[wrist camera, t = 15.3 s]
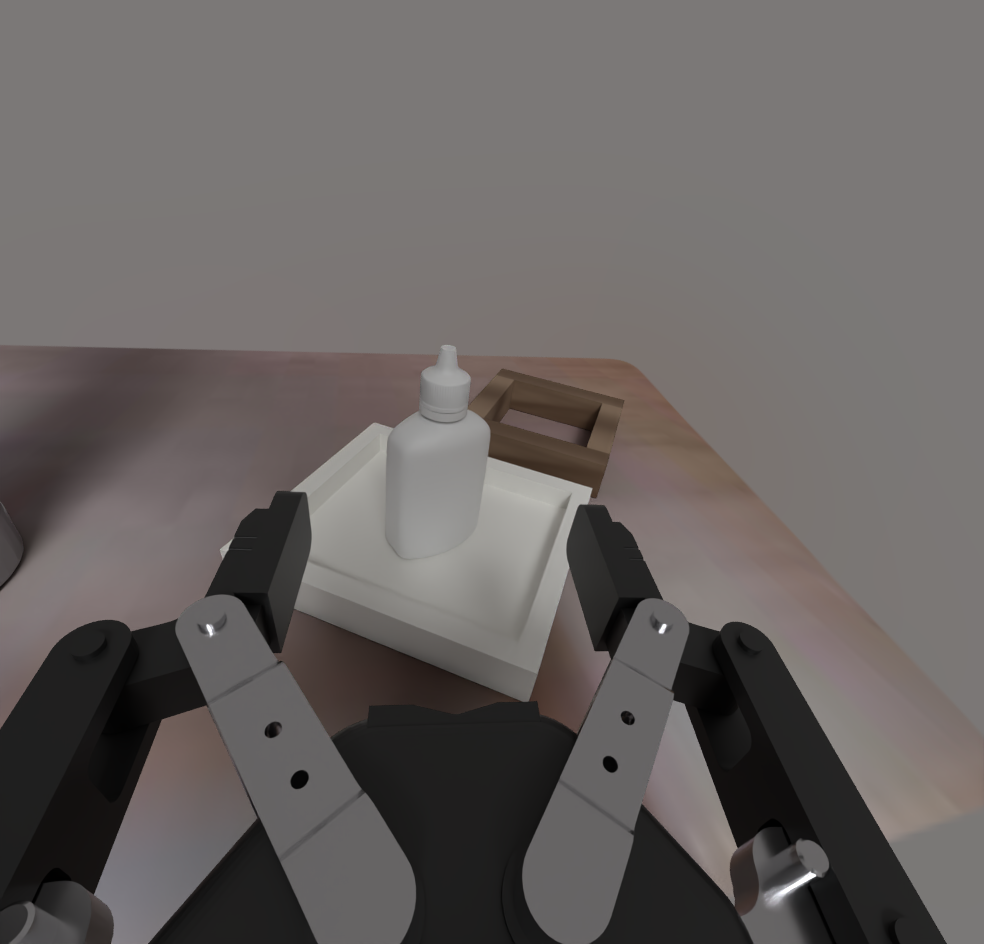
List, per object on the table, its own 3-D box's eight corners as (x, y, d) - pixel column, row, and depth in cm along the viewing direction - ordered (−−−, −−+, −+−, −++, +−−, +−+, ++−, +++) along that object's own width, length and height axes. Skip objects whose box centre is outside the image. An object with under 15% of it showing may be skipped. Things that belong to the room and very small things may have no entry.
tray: (528, 703, 22) (537, 674, 21) (229, 582, 26) (219, 549, 24) (583, 515, 34) (592, 488, 33) (374, 449, 38) (373, 422, 36)
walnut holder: (596, 498, 36) (606, 466, 34) (451, 453, 38) (453, 421, 37) (615, 428, 45) (624, 400, 44) (498, 396, 48) (502, 368, 46)
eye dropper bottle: (386, 511, 30) (388, 326, 23) (473, 512, 31) (499, 335, 24) (384, 562, 27) (385, 363, 20) (482, 560, 28) (515, 371, 21)
